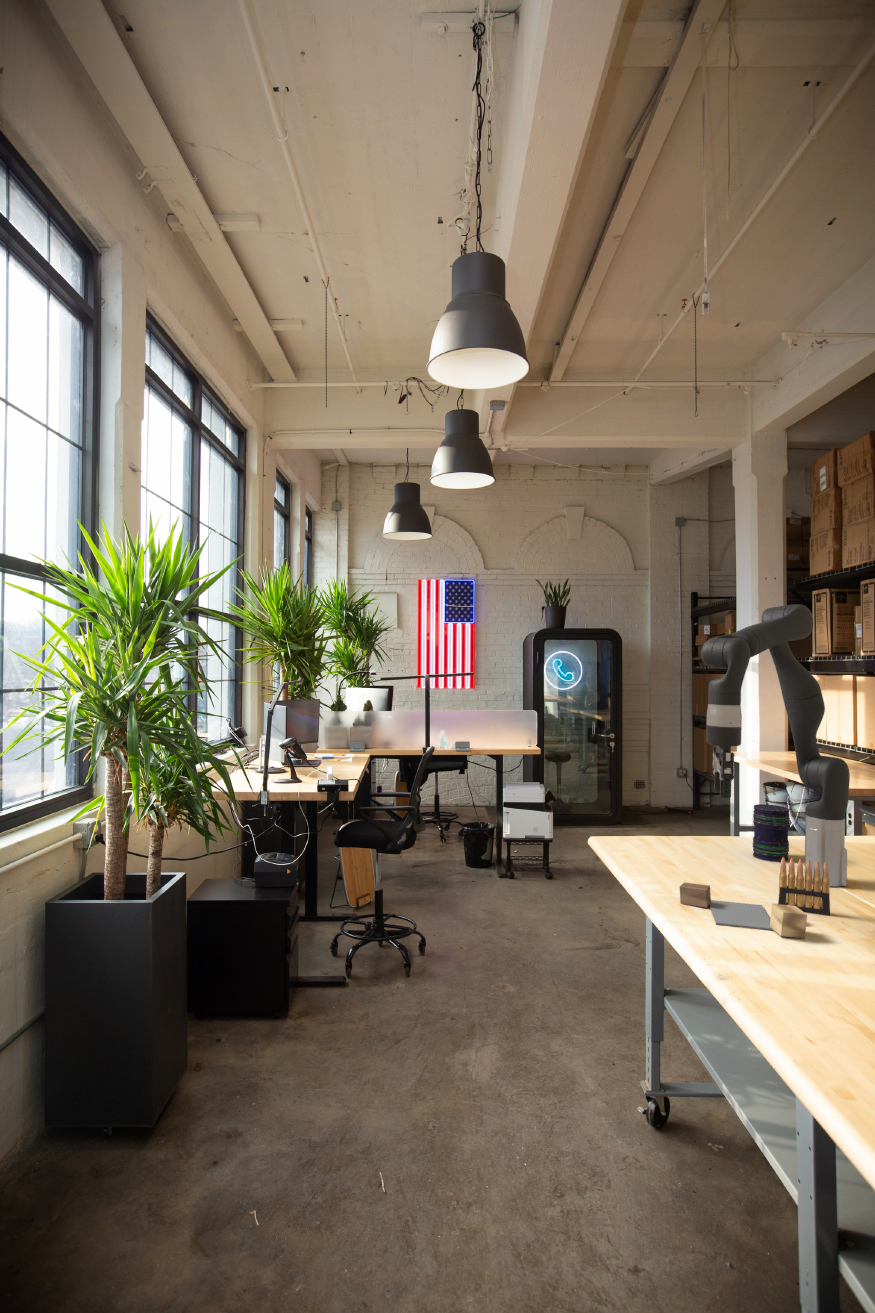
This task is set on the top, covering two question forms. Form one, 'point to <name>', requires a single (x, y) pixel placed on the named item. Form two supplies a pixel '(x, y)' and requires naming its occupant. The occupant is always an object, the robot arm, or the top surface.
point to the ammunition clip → (805, 888)
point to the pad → (740, 915)
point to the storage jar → (771, 832)
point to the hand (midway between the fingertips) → (722, 794)
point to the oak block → (788, 921)
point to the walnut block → (695, 894)
